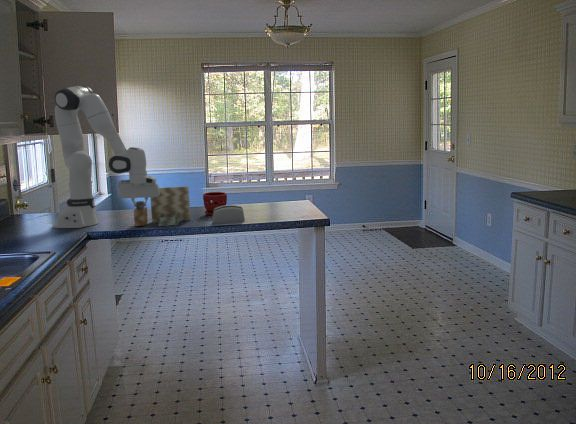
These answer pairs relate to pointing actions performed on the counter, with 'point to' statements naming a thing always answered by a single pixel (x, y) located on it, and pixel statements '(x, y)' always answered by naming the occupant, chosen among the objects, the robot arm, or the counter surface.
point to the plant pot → (214, 201)
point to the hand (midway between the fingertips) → (140, 206)
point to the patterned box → (171, 206)
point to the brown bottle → (140, 214)
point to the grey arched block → (228, 214)
